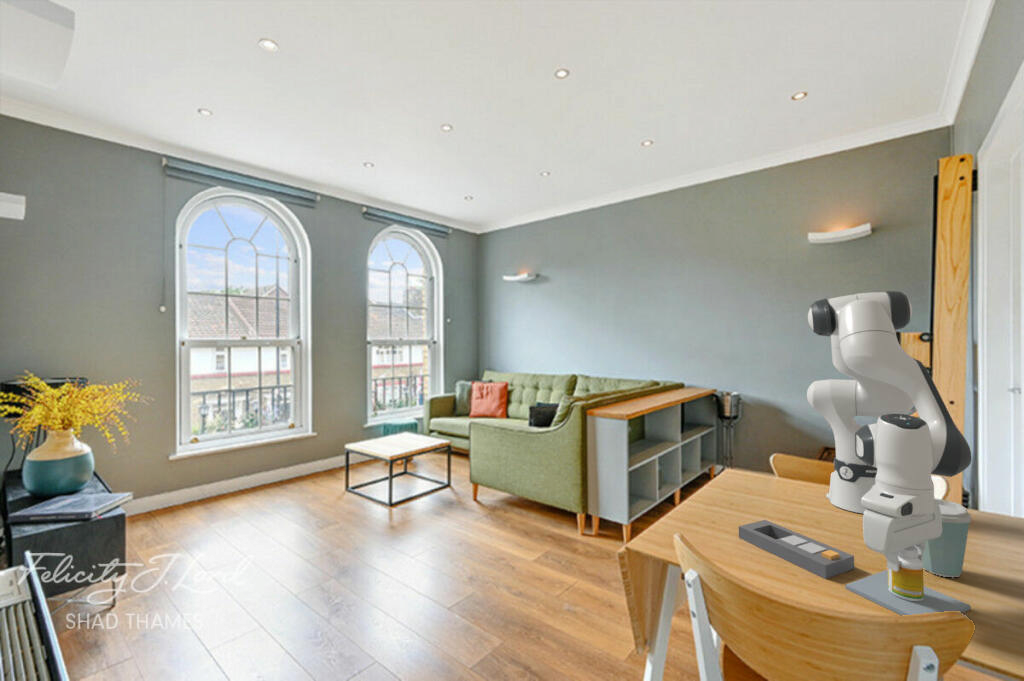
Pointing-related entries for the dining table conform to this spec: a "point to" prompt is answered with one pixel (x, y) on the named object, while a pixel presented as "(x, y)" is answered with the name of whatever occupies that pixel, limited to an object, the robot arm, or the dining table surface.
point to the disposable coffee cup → (948, 541)
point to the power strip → (797, 548)
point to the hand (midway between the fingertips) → (905, 565)
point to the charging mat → (879, 593)
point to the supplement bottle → (907, 576)
